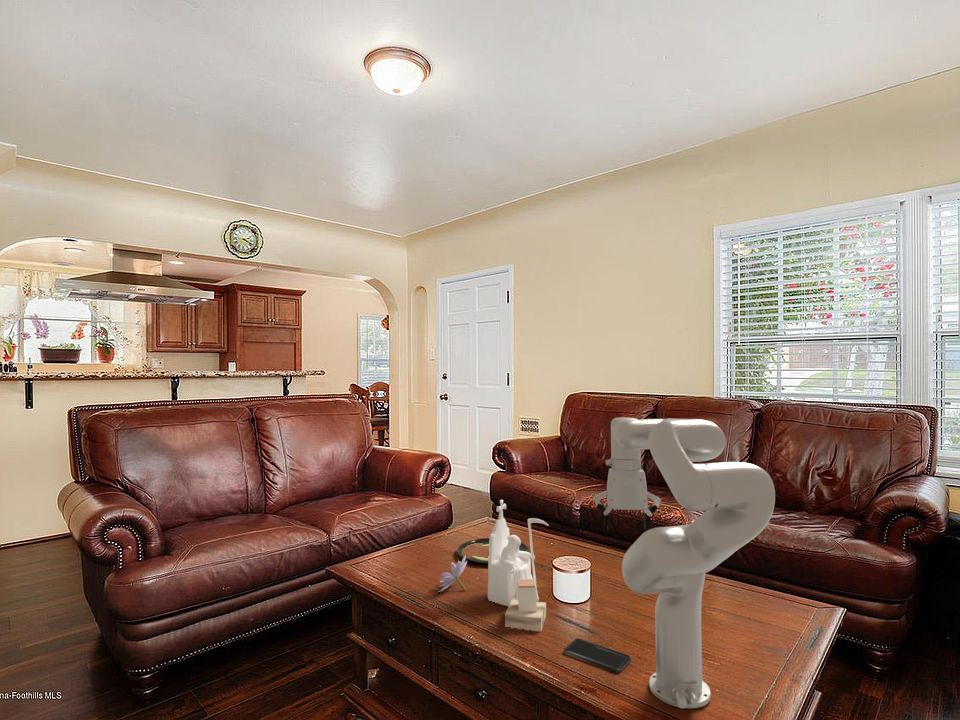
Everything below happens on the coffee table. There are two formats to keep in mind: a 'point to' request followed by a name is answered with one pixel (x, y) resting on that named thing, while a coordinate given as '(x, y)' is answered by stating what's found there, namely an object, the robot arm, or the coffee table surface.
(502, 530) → the religious statue
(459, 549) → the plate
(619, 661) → the phone
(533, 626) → the block
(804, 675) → the coffee table surface
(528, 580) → the peach rectangular block
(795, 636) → the coffee table surface
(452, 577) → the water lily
